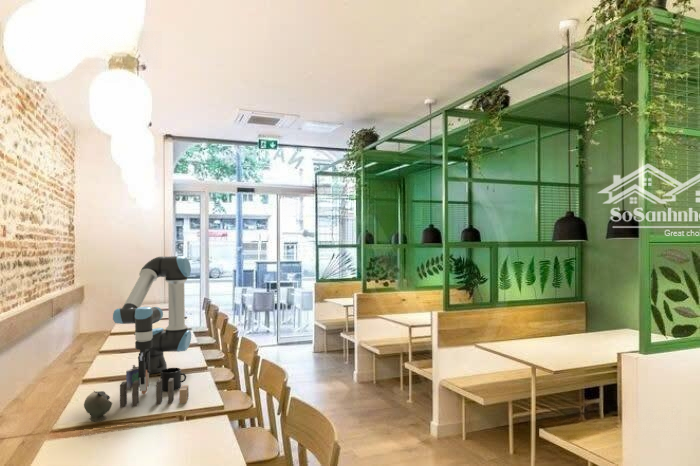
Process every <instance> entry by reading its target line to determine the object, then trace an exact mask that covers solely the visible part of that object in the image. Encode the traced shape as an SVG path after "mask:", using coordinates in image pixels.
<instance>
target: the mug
mask: <svg viewBox="0 0 700 466" xmlns="http://www.w3.org/2000/svg"><path fill="white" fill-rule="evenodd" d="M182 376H184V379H183V380H182ZM170 378H174V391H177V390H180V388H181V386H182V383H184V382H185V381H186V380H187V375H186V373H183V372H182V369H181V368H180V367H167V369H163V370H161V372H160V379H162V392H168V381H169V379H170Z"/></svg>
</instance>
